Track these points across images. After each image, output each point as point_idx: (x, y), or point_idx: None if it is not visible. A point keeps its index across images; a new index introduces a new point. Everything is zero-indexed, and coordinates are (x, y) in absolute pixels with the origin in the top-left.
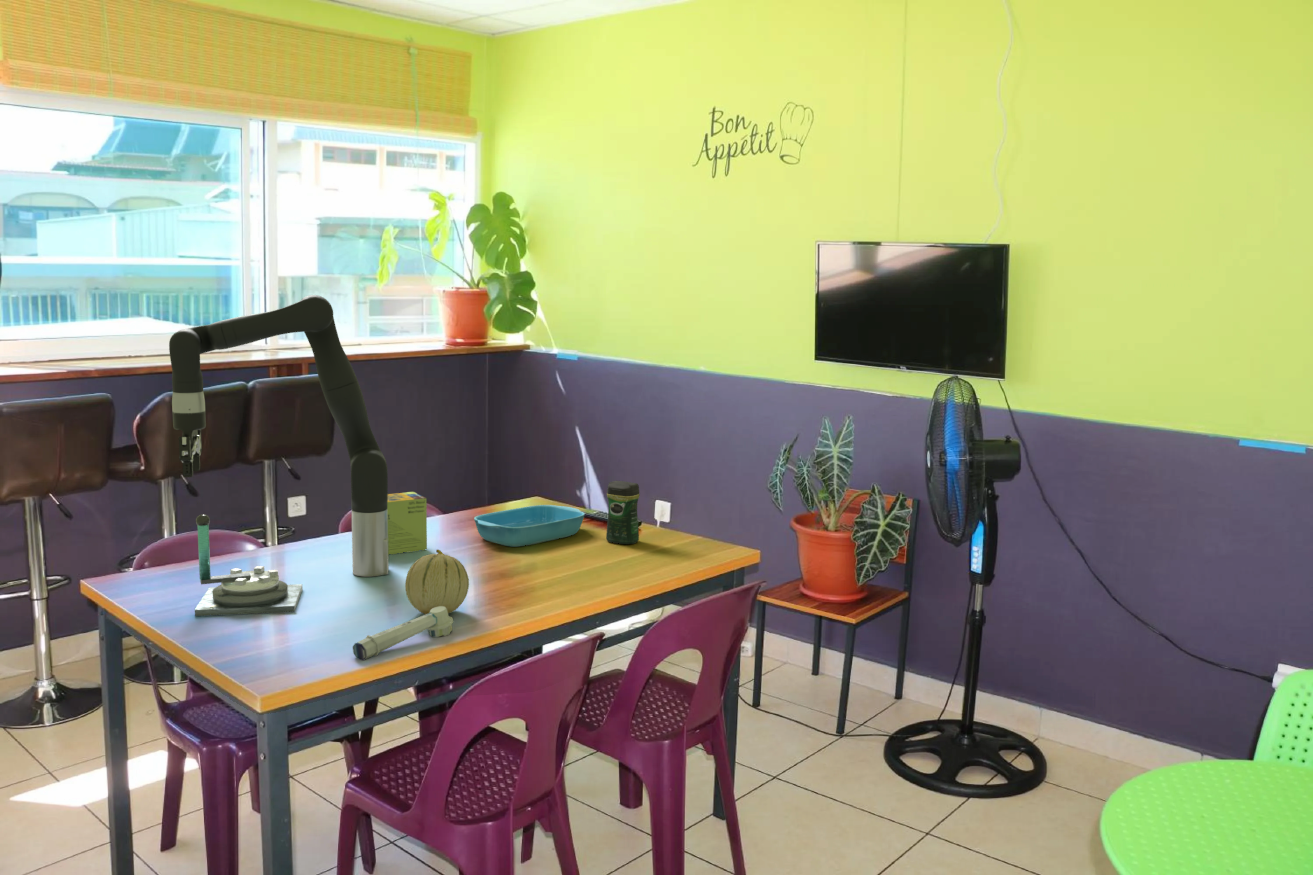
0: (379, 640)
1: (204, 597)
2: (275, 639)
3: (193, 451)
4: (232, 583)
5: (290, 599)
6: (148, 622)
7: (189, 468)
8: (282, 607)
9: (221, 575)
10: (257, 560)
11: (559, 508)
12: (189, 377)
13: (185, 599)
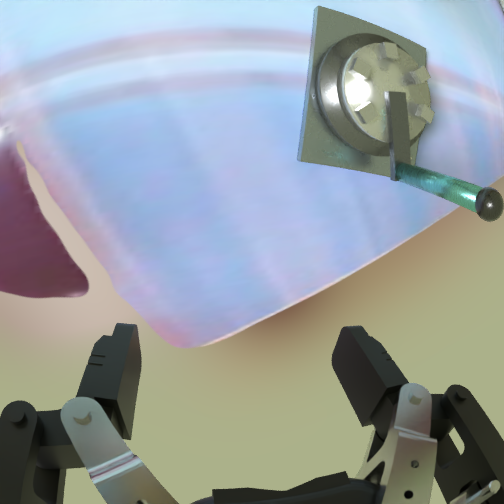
0: None
1: (358, 167)
2: (487, 100)
3: (433, 442)
4: (414, 126)
5: (399, 43)
6: (407, 237)
7: (393, 364)
8: (424, 63)
9: (393, 142)
10: (70, 98)
11: None
12: None
13: (321, 198)
